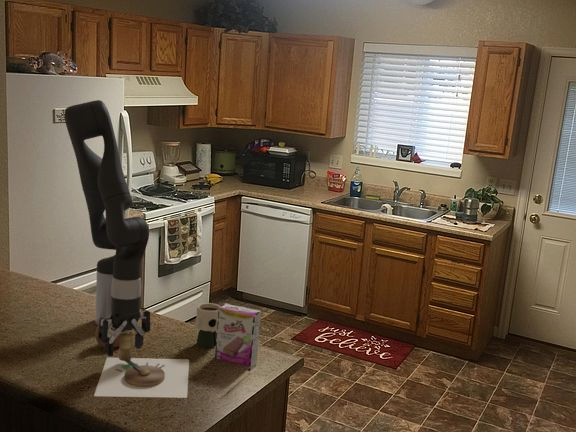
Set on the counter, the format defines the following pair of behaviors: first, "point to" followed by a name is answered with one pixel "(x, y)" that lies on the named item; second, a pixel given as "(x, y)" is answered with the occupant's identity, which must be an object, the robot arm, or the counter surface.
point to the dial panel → (170, 387)
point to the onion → (116, 343)
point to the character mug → (207, 324)
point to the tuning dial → (137, 373)
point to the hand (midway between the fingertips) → (124, 351)
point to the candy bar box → (237, 334)
